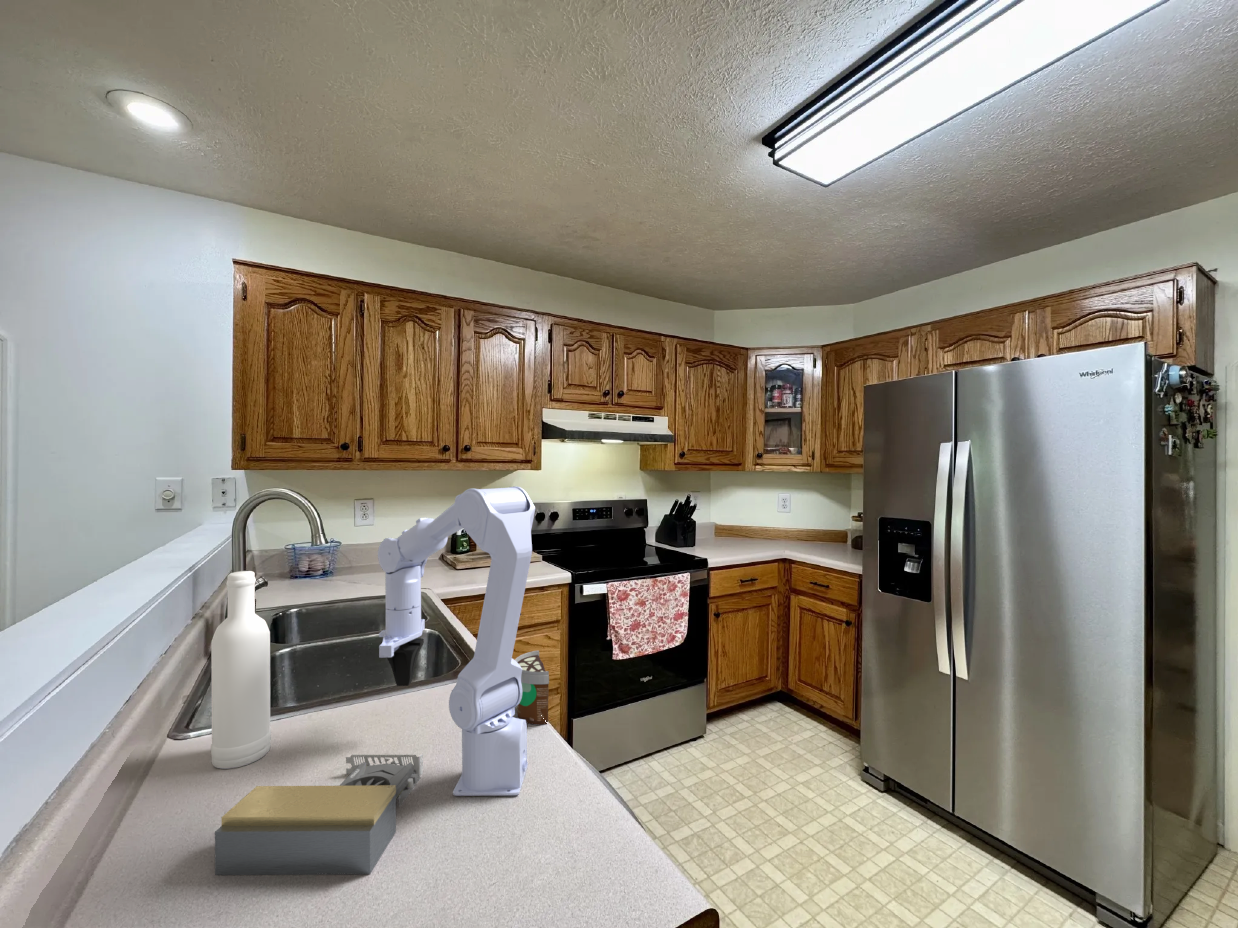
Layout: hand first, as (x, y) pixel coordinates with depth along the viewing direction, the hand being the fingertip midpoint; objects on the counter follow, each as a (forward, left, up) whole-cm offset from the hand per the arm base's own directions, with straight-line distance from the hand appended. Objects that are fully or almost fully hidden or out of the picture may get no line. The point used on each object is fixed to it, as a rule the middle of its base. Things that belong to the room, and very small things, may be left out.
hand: (403, 684), depth 91 cm
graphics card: (-1, +18, -10) cm, 21 cm away
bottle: (+25, +5, -10) cm, 27 cm away
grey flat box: (0, +27, -9) cm, 28 cm away
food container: (-20, -8, -10) cm, 24 cm away
